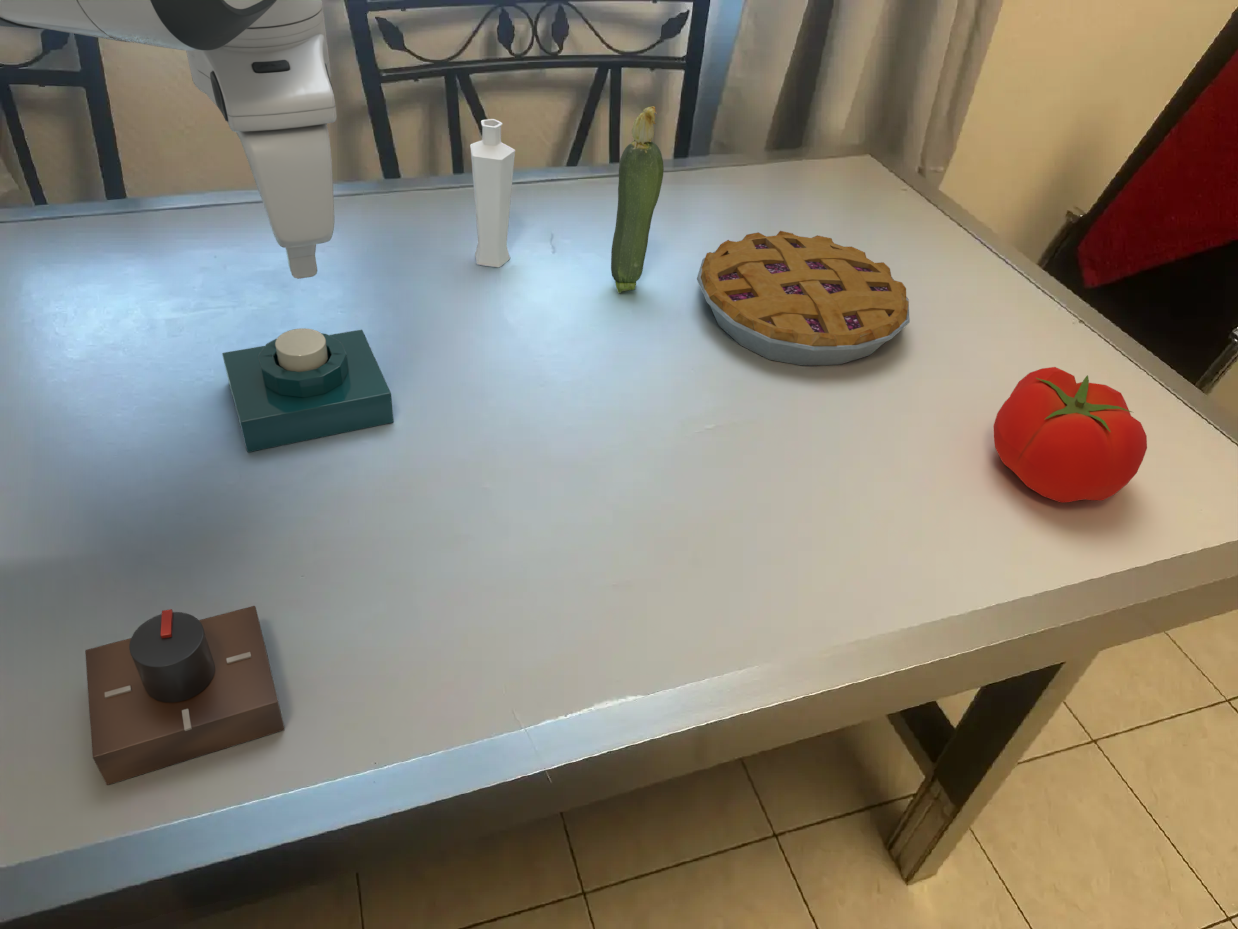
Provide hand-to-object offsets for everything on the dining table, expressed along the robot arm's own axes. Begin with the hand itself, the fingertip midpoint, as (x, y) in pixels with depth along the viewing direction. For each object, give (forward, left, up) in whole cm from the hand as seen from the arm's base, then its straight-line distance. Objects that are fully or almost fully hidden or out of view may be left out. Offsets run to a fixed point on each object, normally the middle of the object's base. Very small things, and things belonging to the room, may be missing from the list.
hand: (291, 241), depth 72 cm
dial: (-13, -27, -13) cm, 33 cm away
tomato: (+58, -29, -16) cm, 66 cm away
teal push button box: (0, +1, -16) cm, 16 cm away
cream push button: (0, +1, -11) cm, 11 cm away
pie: (+50, 0, -16) cm, 52 cm away
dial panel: (-13, -27, -16) cm, 34 cm away
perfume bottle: (+23, +20, -16) cm, 34 cm away
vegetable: (+35, +10, -16) cm, 39 cm away
